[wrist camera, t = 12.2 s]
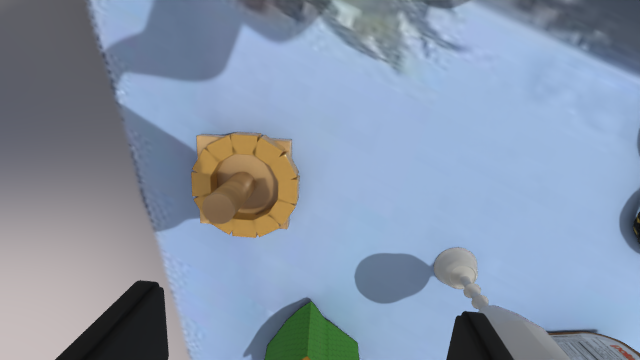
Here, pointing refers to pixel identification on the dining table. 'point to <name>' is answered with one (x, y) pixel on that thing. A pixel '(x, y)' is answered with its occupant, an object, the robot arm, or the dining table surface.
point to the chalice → (496, 310)
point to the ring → (266, 152)
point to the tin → (593, 346)
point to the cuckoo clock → (311, 339)
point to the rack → (240, 185)
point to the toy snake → (637, 227)
